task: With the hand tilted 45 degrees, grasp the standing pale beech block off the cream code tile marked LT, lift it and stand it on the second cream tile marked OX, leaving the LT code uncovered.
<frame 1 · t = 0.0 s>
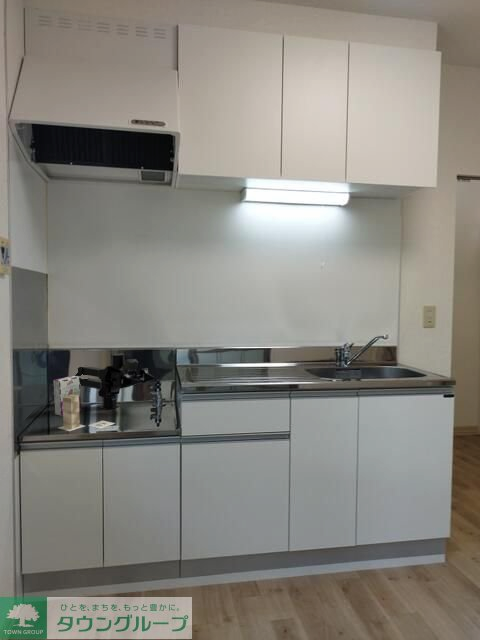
hand: (147, 380, 205), 17 cm above the countertop, tool horizontal, fingers open, 9 cm apart
candy bar box: (68, 413, 212), on the countertop
beech block: (71, 426, 190), resting on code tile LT
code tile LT: (71, 427, 190), on the countertop
code tile OX: (101, 424, 194), on the countertop
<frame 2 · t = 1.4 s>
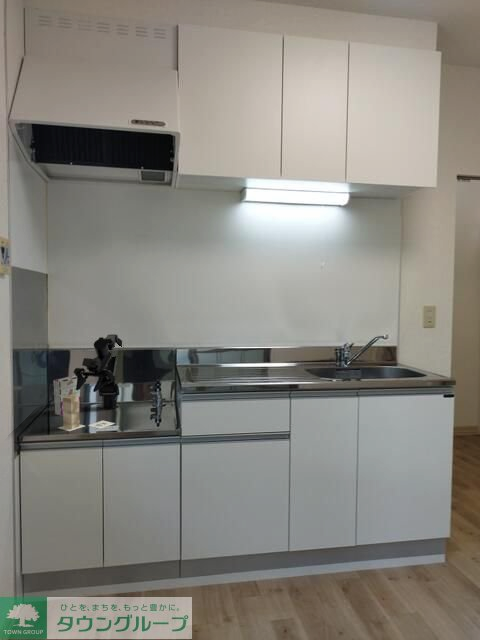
hand: (85, 390, 197), 14 cm above the countertop, tool tilted 45°, fingers open, 9 cm apart
nothing on the countertop moved.
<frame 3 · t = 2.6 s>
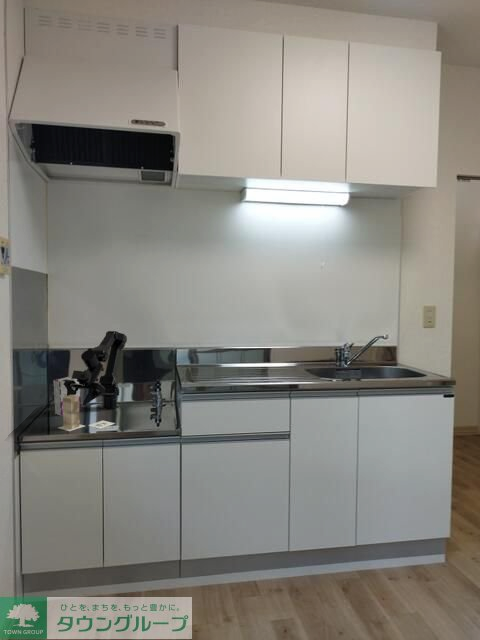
hand: (74, 404, 191), 9 cm above the countertop, tool tilted 45°, fingers open, 9 cm apart
nothing on the countertop moved.
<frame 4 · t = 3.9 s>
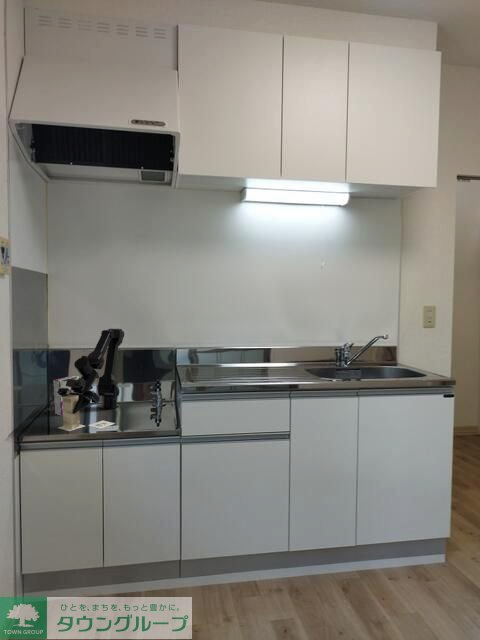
hand: (68, 412, 189), 7 cm above the countertop, tool tilted 45°, fingers closed on beech block, 4 cm apart
beech block: (71, 426, 190), resting on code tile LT, touching gripper
everything else where it was.
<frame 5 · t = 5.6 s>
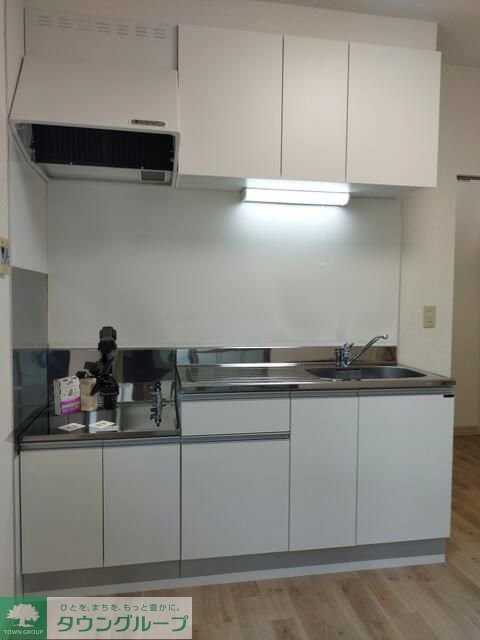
hand: (86, 395, 190), 14 cm above the countertop, tool tilted 45°, fingers closed on beech block, 4 cm apart
beech block: (89, 409, 192), point 7 cm above the countertop, touching gripper
everything else where it was.
when the fingers open (8 cm above the countertop, at t = 7.3 s): beech block drops 1 cm, resting on code tile OX.
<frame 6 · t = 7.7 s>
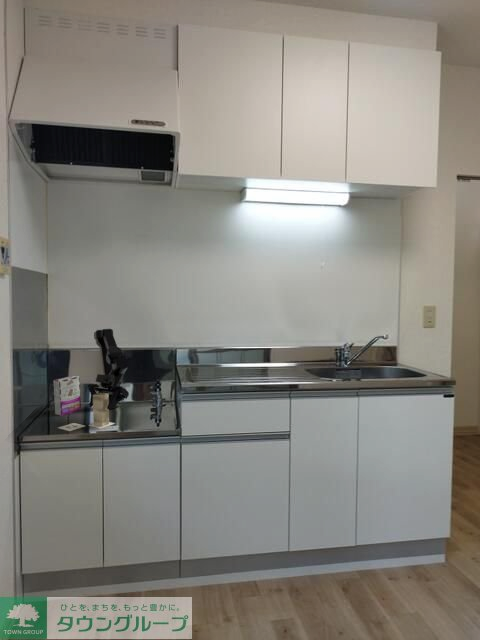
hand: (98, 407, 192), 8 cm above the countertop, tool tilted 45°, fingers open, 9 cm apart
beech block: (101, 424, 194), resting on code tile OX
everything else where it was.
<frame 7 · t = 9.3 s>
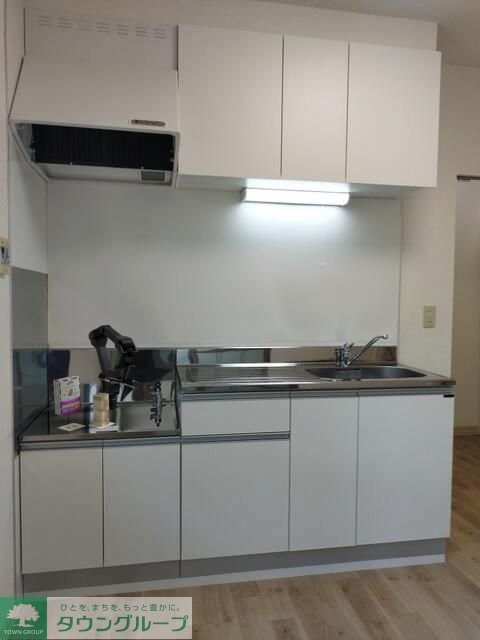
hand: (112, 399, 201), 9 cm above the countertop, tool tilted 25°, fingers open, 9 cm apart
nothing on the countertop moved.
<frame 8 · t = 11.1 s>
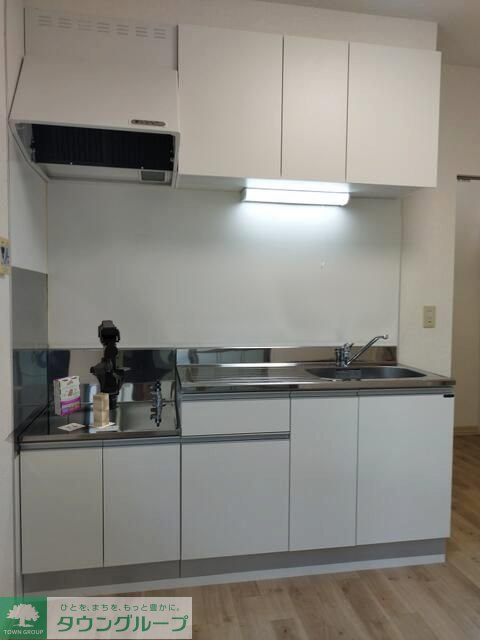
hand: (110, 389, 202), 13 cm above the countertop, tool pointing down, fingers open, 9 cm apart
nothing on the countertop moved.
at the end: beech block 0.1 cm from the code tile OX (horizontally); beech block tilted 0°; beech block resting on code tile OX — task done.
